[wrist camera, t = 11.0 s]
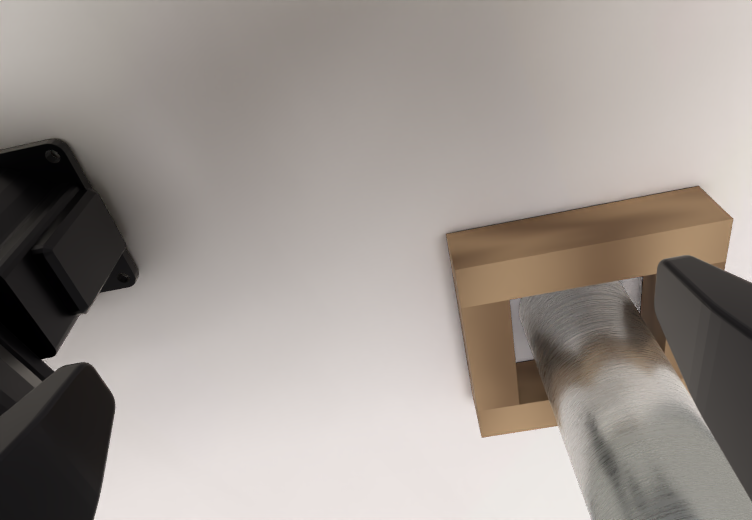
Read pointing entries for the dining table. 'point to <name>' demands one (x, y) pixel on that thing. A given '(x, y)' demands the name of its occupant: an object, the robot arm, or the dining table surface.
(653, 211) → the frame
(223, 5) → the dining table surface
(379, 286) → the dining table surface
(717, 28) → the dining table surface
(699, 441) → the metal canister
